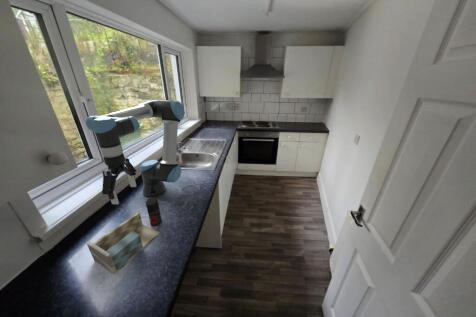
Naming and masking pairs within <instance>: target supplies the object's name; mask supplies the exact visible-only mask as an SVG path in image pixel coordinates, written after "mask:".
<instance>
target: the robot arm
mask: <svg viewBox="0 0 476 317" xmlns="http://www.w3.org/2000/svg"><path fill="white" fill-rule="evenodd" d="M184 117H185V109H184V106H183V103H181V102H180V101H179V100H171V99H153V100H149V101H146V102H141V103H140V104H139V105H137V106H134V107H130V108H126V109H122V110H119V111H115V112H110V113H108V114H107V113H106V114H102V115H90V116H88V117H87V118H86V120H85V125H86V127H87V129H88V130H89V131H91V132H94V135H95V138H96V140H97V143H98V146H99V150H100V152H101V155H102V159H103V162H104V165H106V166H107V170H102V189H101V190H102V191H101V194H102V195H107V196H108V199H109V200H110V202H111V204H112V205H119V204H120V201H119V199H118V195H117V192H116V191H115V187H116V182H117V178H118V177H119V175H120V174H121V173H125V174H127V178H128V182H129V187H131V188H136V187H137V183H136V175H137V173H136V172H137V169H136V167H135V166H134V165H133V164H132V163H131V161H130V159H129V158H127V157H126V156H125V154H124V150H123V146H122V142H121V138H124V137H126V136H129V135H131V134H134V133H135V132H138V131H139V129H140V122H139V121H141V120H144V119H152V118H158V119H161V122H162V123H163V138H162V139H163V140H162V141H163V142H162V160H160V161H159V160H158V159H150V160H146V161H144V162H142V163H141V164H140V166H139V167H140V171H139V172H140V173H141V178H142V182H143V185H142V195H143V196H145V197H149V198H150V197H151V198H155V197H157V196H160V195H162V194H163V193H165V192H166V185H165V184H164V182H165V183H176V182H177V181H179V180H180V177H181V175H182V167H181V166H180V165H179V162H178V161H177V150H178V149H177V148H178V129H179V128H178V126H179V124H181V120H183V119H184Z"/></svg>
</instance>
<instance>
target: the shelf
mask: <svg viewBox="0 0 476 317" xmlns="http://www.w3.org/2000/svg"><path fill="white" fill-rule="evenodd" d="M160 234H161V233H160V232H159V231H157V230H155V229H153V228H151V227H150V226H147V225H145V224H143V221H142V217H141V213H140V212H139V211H138V212H136V213H134V214H133V215H132V216H131V217H129V218H128V219H126V220H125V221H122V223H120V224H119V225H117V226H116V227H115V228H113V229H111V230H110V231H109V232H107V233H105V235H103V236H101V237H100V238H98V239H97V240H96V241H94V242H91V241H90V240H89V241H88V242H87V243H86V245H87V247H88V250H89V252H90V255H91V258H92V259H93V261H94V262H95V263H97V264H98V265H100V266H101V267H103V268H104V269H106V270H107V271H108V272H110V273H111V274H113V275H116V274H117V273H118V272H119V271H121V269H122V268H124V267H125V266H126V265H127V264H128V263H130V261H131V260H132V259H133V258H134V257H136V256H137V255H138V254H139V253H141V251H142V250H144V249H145V248H146V247H147V246H148V245H149V244H151V242H153V241H154V240H155V239H156V238H157V237H158V236H159V235H160Z"/></svg>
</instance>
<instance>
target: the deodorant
mask: <svg viewBox="0 0 476 317" xmlns="http://www.w3.org/2000/svg"><path fill="white" fill-rule="evenodd" d="M145 205H146V210H147V214H148V218H149V223H150V226H151V227H158V226H159V225H161V224H162V221H163V220H162V215H161V210H160V203H159V199H158V198H157V197H151V198H148V199H147V200H146V202H145Z"/></svg>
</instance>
